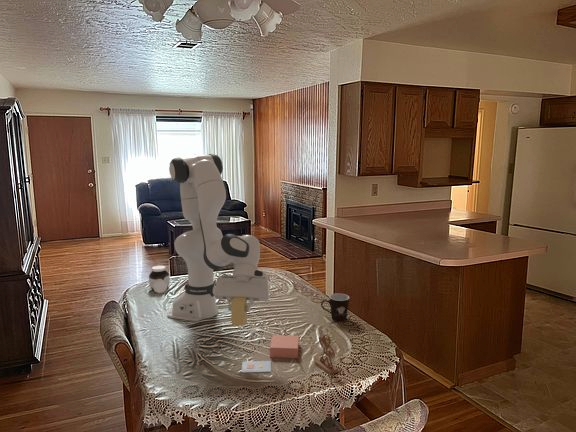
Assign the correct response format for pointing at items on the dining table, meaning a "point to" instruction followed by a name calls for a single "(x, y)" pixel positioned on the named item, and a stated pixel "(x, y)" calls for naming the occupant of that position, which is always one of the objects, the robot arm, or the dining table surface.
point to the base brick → (284, 346)
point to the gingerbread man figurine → (322, 362)
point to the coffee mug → (338, 306)
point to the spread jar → (159, 279)
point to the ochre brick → (238, 311)
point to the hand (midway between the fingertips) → (238, 310)
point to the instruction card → (256, 366)
